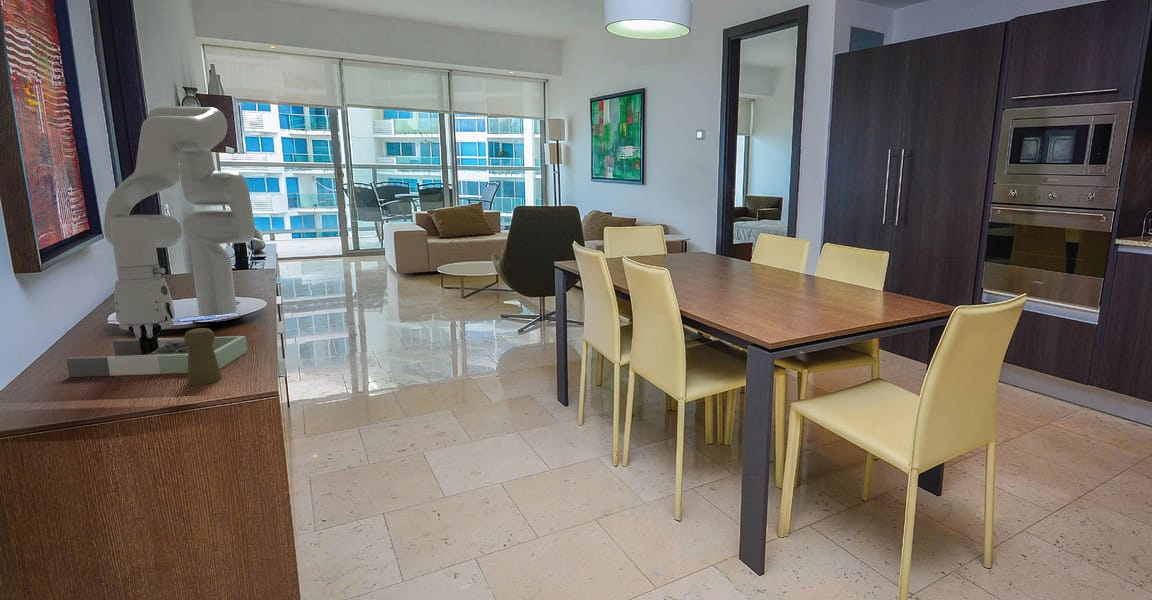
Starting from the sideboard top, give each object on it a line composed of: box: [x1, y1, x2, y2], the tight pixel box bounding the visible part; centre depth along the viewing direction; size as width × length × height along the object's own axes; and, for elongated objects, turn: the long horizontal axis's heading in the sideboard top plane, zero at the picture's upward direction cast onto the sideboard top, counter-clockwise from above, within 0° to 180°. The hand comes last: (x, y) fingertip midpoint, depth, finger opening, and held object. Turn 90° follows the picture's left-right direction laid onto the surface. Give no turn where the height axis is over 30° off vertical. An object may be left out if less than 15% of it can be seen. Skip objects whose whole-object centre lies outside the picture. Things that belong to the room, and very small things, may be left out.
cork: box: [183, 327, 223, 386], centre depth 120 cm, size 6×6×11 cm
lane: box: [66, 335, 248, 378], centre depth 133 cm, size 16×29×4 cm, turn 96°
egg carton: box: [146, 342, 189, 355], centre depth 131 cm, size 11×8×4 cm
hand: (150, 353), depth 132 cm, fingers closed
